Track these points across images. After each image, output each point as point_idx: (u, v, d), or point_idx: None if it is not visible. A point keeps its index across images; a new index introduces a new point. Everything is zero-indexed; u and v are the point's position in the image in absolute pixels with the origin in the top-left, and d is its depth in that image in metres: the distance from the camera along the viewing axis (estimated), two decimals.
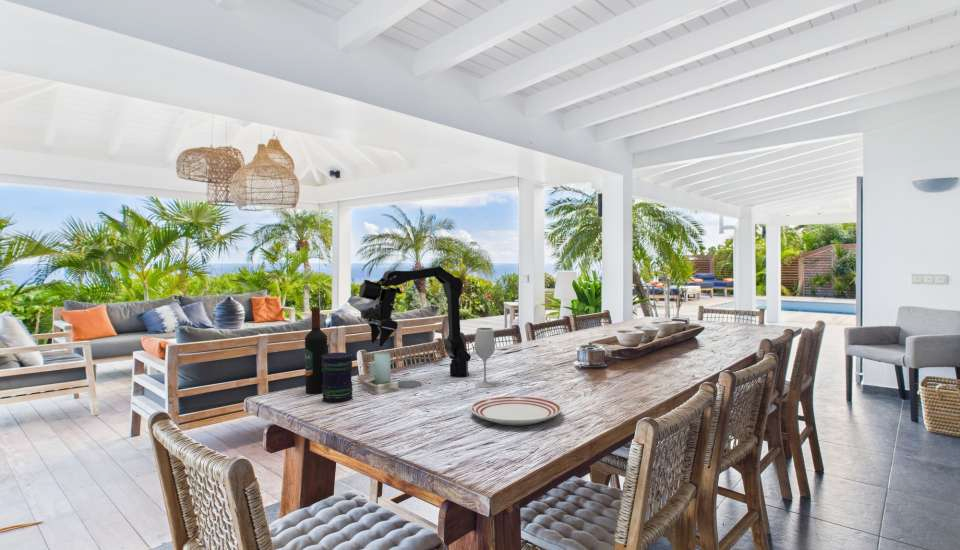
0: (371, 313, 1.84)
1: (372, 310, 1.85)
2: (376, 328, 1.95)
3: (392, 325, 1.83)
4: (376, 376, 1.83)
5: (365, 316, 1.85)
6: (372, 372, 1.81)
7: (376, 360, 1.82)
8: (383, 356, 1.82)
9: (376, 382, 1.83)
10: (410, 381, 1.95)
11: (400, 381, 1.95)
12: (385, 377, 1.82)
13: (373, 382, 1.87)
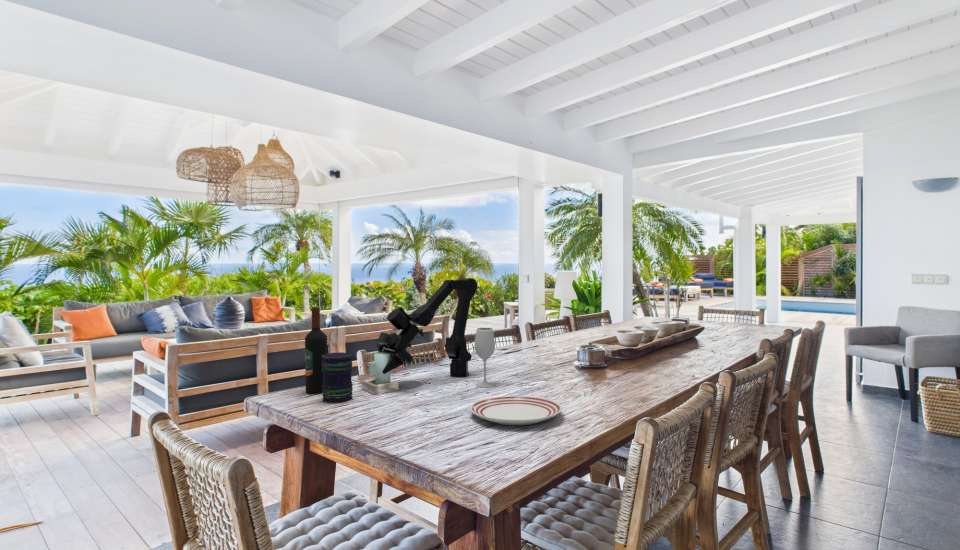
0: (393, 339, 1.82)
1: (395, 336, 1.83)
2: None
3: (408, 358, 1.81)
4: (376, 376, 1.83)
5: (385, 339, 1.83)
6: (372, 372, 1.81)
7: (376, 360, 1.82)
8: (383, 356, 1.82)
9: (376, 382, 1.83)
10: (410, 381, 1.95)
11: (400, 381, 1.95)
12: (385, 377, 1.82)
13: (373, 382, 1.87)
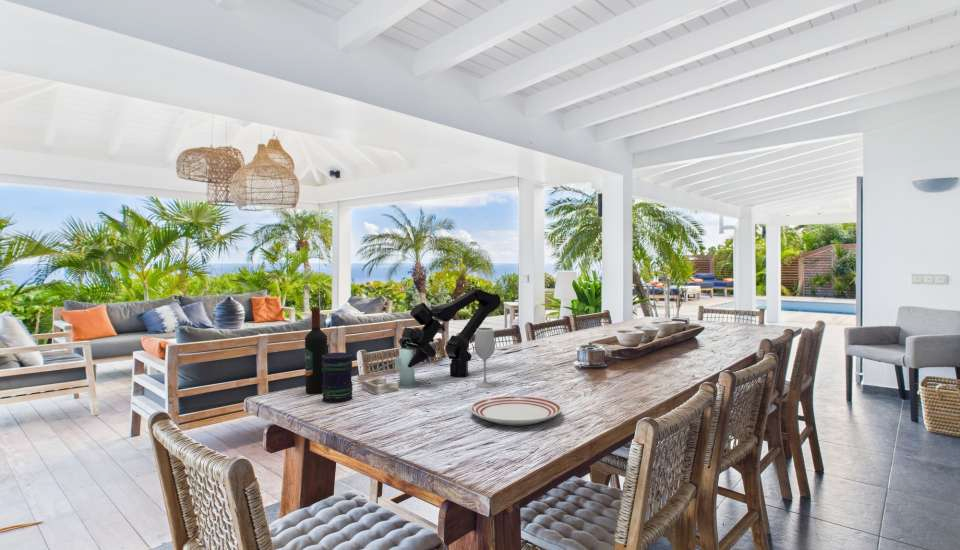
0: (417, 333, 1.89)
1: (419, 331, 1.89)
2: None
3: (432, 352, 1.87)
4: (401, 371, 1.89)
5: (409, 334, 1.89)
6: (397, 367, 1.88)
7: (401, 355, 1.89)
8: (408, 351, 1.88)
9: (401, 376, 1.89)
10: None
11: None
12: (410, 371, 1.89)
13: (373, 382, 1.87)
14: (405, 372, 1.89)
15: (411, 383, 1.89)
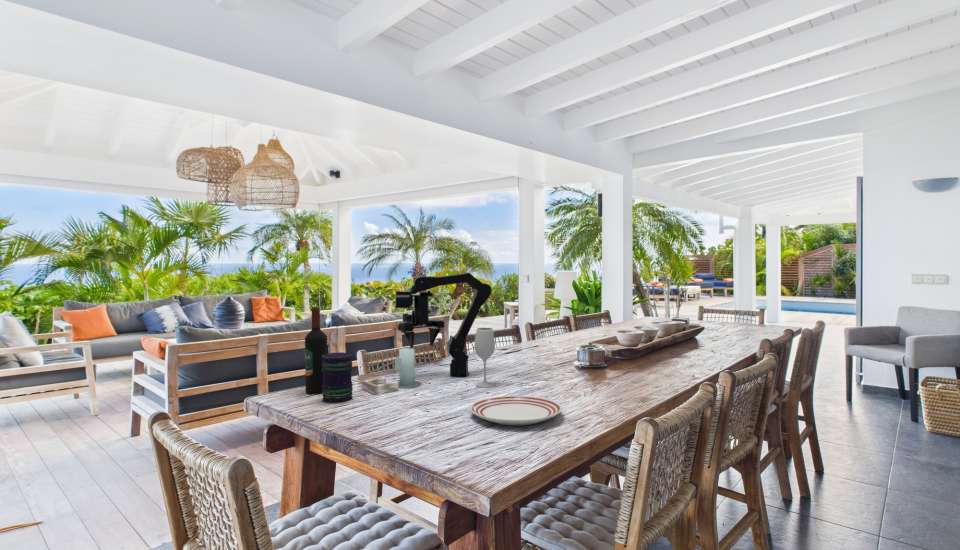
0: (404, 319, 2.05)
1: (404, 316, 2.05)
2: (432, 332, 2.06)
3: (402, 328, 1.97)
4: (401, 371, 1.89)
5: (406, 322, 2.07)
6: (397, 367, 1.88)
7: (401, 355, 1.89)
8: (408, 351, 1.88)
9: (401, 376, 1.89)
10: None
11: None
12: (410, 371, 1.89)
13: (373, 382, 1.87)
14: (405, 372, 1.89)
15: (411, 383, 1.89)
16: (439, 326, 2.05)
